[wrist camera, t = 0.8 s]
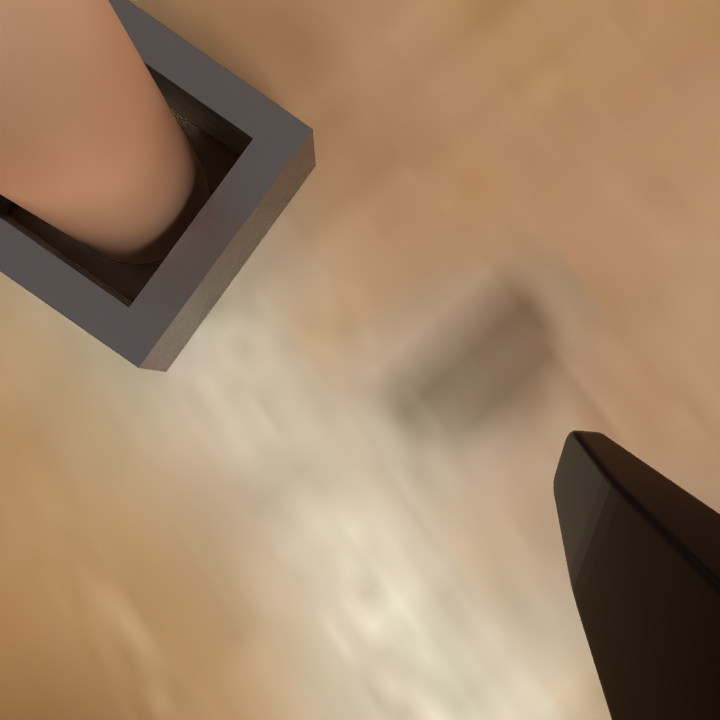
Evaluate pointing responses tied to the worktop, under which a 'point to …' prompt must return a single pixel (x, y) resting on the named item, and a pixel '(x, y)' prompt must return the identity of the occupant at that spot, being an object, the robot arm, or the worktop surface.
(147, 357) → the collar
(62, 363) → the worktop surface
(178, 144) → the cylindrical peg
